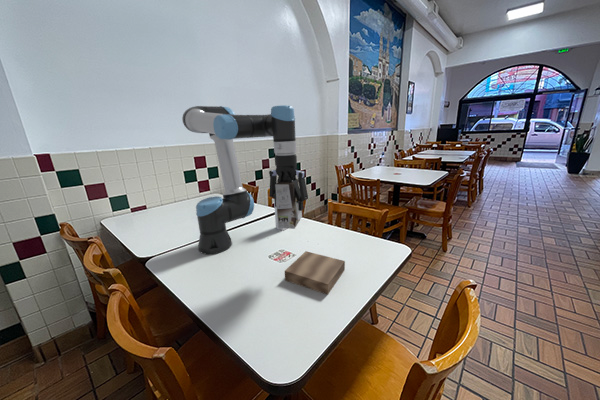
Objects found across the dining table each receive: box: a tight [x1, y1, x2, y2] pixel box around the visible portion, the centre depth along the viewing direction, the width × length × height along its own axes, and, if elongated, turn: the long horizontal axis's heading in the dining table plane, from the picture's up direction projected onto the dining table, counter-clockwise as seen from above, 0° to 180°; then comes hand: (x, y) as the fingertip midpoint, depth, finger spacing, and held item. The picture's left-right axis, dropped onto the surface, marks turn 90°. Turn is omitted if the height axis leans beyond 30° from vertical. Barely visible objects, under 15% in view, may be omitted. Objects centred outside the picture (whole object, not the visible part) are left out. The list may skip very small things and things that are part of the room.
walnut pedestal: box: [284, 250, 346, 295], centre depth 91 cm, size 17×16×4 cm
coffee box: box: [275, 178, 301, 230], centre depth 87 cm, size 9×6×16 cm
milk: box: [273, 199, 289, 232], centre depth 132 cm, size 6×6×22 cm
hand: (289, 217), depth 89 cm, fingers closed on coffee box, 8 cm apart
